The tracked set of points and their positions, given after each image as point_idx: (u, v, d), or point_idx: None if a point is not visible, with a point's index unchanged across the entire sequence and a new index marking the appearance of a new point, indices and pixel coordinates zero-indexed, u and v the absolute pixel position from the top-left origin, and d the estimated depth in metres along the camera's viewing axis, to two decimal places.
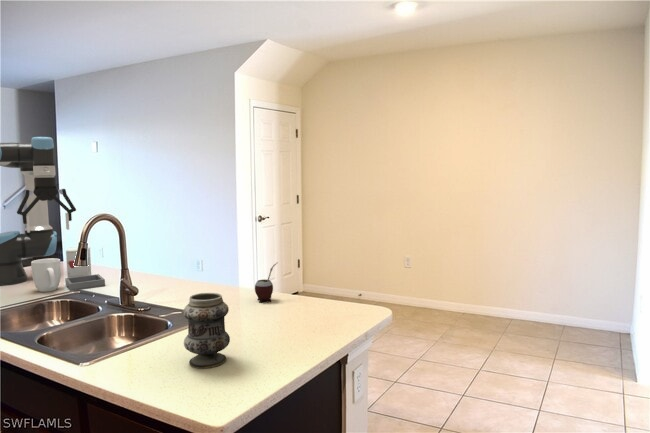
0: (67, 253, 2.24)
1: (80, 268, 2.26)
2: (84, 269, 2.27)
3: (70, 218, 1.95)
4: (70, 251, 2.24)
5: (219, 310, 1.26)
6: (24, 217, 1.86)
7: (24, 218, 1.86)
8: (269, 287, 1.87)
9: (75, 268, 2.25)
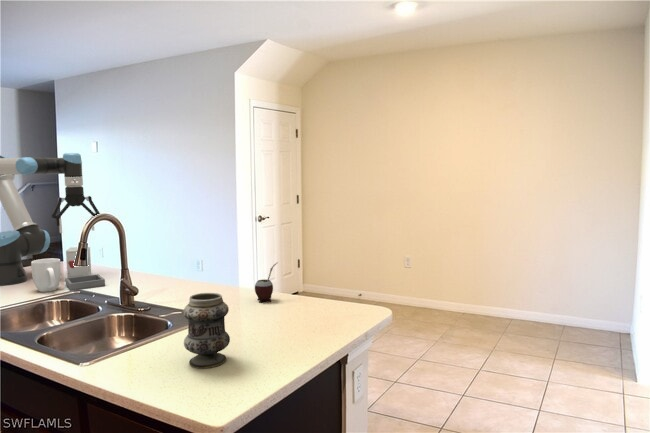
0: (67, 253, 2.24)
1: (80, 268, 2.26)
2: (84, 269, 2.27)
3: None
4: (70, 251, 2.24)
5: (219, 310, 1.26)
6: (57, 220, 2.23)
7: (57, 221, 2.23)
8: (269, 287, 1.87)
9: (75, 268, 2.25)
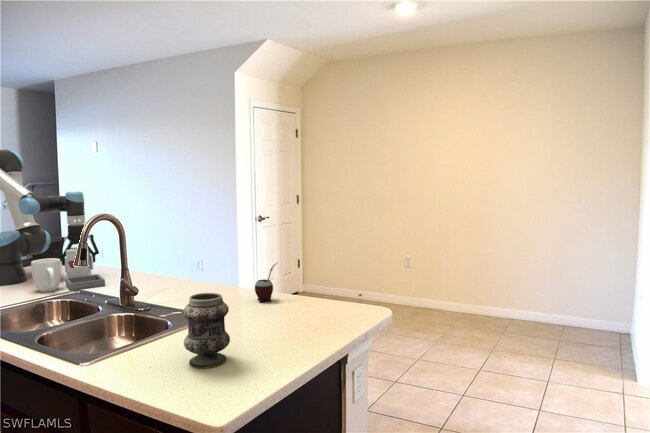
0: (67, 253, 2.24)
1: (80, 268, 2.26)
2: (84, 269, 2.27)
3: (94, 260, 2.33)
4: (70, 251, 2.24)
5: (219, 310, 1.26)
6: (63, 260, 2.25)
7: (63, 261, 2.25)
8: (269, 287, 1.87)
9: (75, 267, 2.25)
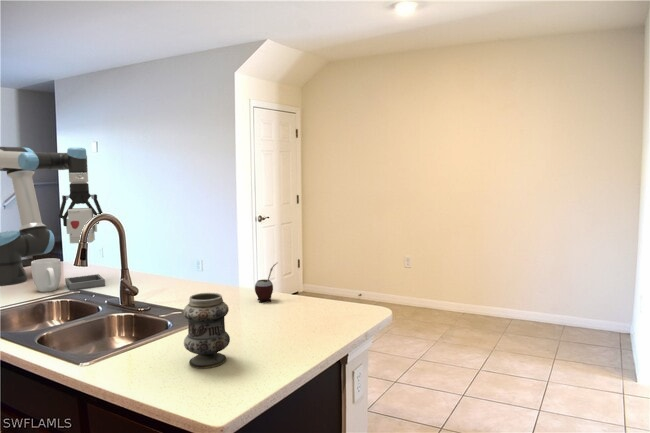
0: (69, 213, 2.10)
1: None
2: None
3: None
4: (72, 210, 2.10)
5: (219, 310, 1.26)
6: (64, 220, 2.11)
7: (64, 221, 2.11)
8: (269, 287, 1.87)
9: (78, 228, 2.12)
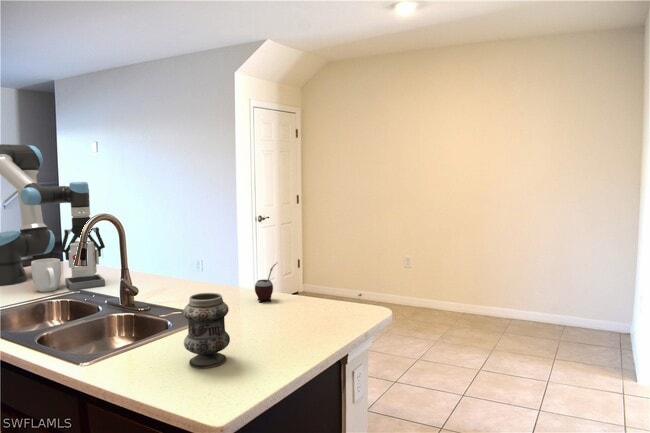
0: (71, 247, 2.11)
1: None
2: (89, 264, 2.14)
3: (99, 254, 2.20)
4: (74, 245, 2.12)
5: (219, 310, 1.26)
6: (67, 254, 2.12)
7: (67, 255, 2.12)
8: (269, 287, 1.87)
9: None
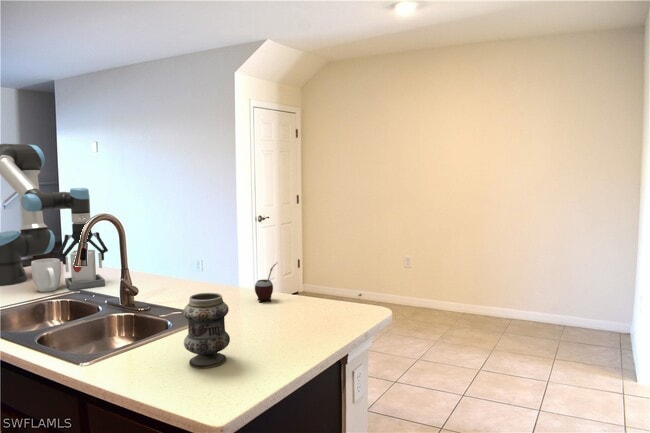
0: (71, 256, 2.12)
1: (85, 272, 2.14)
2: (89, 273, 2.14)
3: (103, 258, 2.21)
4: (75, 254, 2.12)
5: (219, 310, 1.26)
6: (64, 259, 2.12)
7: (64, 259, 2.12)
8: (269, 287, 1.87)
9: (80, 272, 2.13)
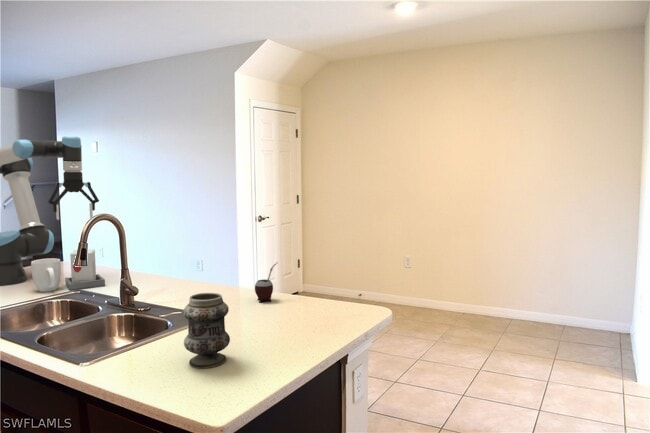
0: (71, 256, 2.12)
1: (85, 272, 2.14)
2: (89, 273, 2.14)
3: (93, 208, 2.22)
4: (75, 254, 2.12)
5: (219, 310, 1.26)
6: (54, 206, 2.13)
7: (54, 207, 2.13)
8: (269, 287, 1.87)
9: (80, 272, 2.13)
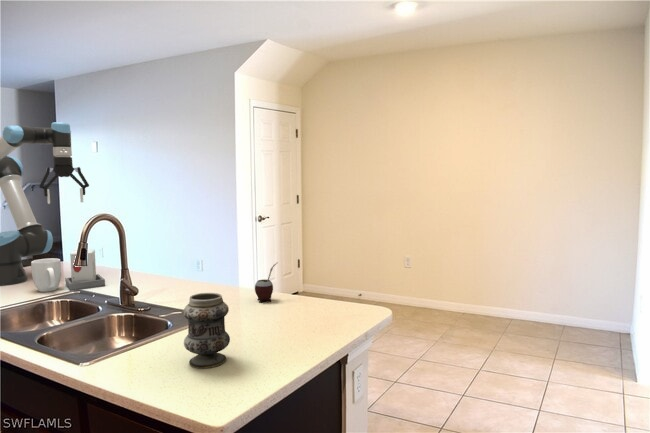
0: (71, 256, 2.12)
1: (85, 272, 2.14)
2: (89, 273, 2.14)
3: (84, 192, 2.27)
4: (75, 254, 2.12)
5: (219, 310, 1.26)
6: (45, 190, 2.18)
7: (45, 191, 2.18)
8: (269, 287, 1.87)
9: (80, 272, 2.13)
